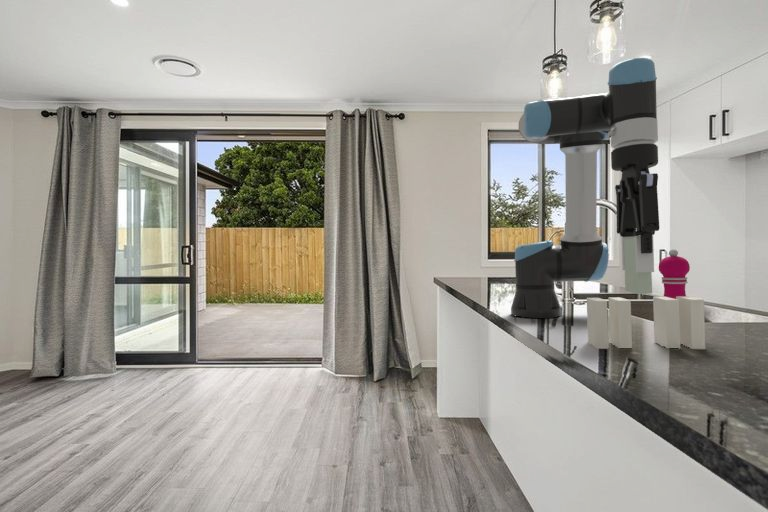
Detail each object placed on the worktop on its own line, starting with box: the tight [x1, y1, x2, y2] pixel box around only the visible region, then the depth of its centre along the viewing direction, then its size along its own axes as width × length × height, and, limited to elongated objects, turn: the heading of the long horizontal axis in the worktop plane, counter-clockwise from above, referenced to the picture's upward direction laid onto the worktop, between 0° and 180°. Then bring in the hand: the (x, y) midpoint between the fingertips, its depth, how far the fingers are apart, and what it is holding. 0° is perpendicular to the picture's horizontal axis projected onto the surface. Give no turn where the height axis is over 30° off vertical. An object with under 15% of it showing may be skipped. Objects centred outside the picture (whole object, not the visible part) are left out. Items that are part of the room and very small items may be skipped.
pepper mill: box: [658, 249, 691, 299], centre depth 100 cm, size 7×7×20 cm
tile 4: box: [652, 296, 681, 350], centre depth 90 cm, size 6×2×10 cm, turn 169°
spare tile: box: [624, 238, 653, 295], centre depth 80 cm, size 6×2×10 cm, turn 169°
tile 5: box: [676, 295, 706, 350], centre depth 89 cm, size 6×2×10 cm, turn 169°
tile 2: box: [608, 296, 633, 349], centre depth 92 cm, size 6×2×10 cm, turn 169°
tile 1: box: [586, 297, 610, 350], centre depth 92 cm, size 6×2×10 cm, turn 169°
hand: (637, 270), depth 80 cm, fingers closed on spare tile, 6 cm apart
